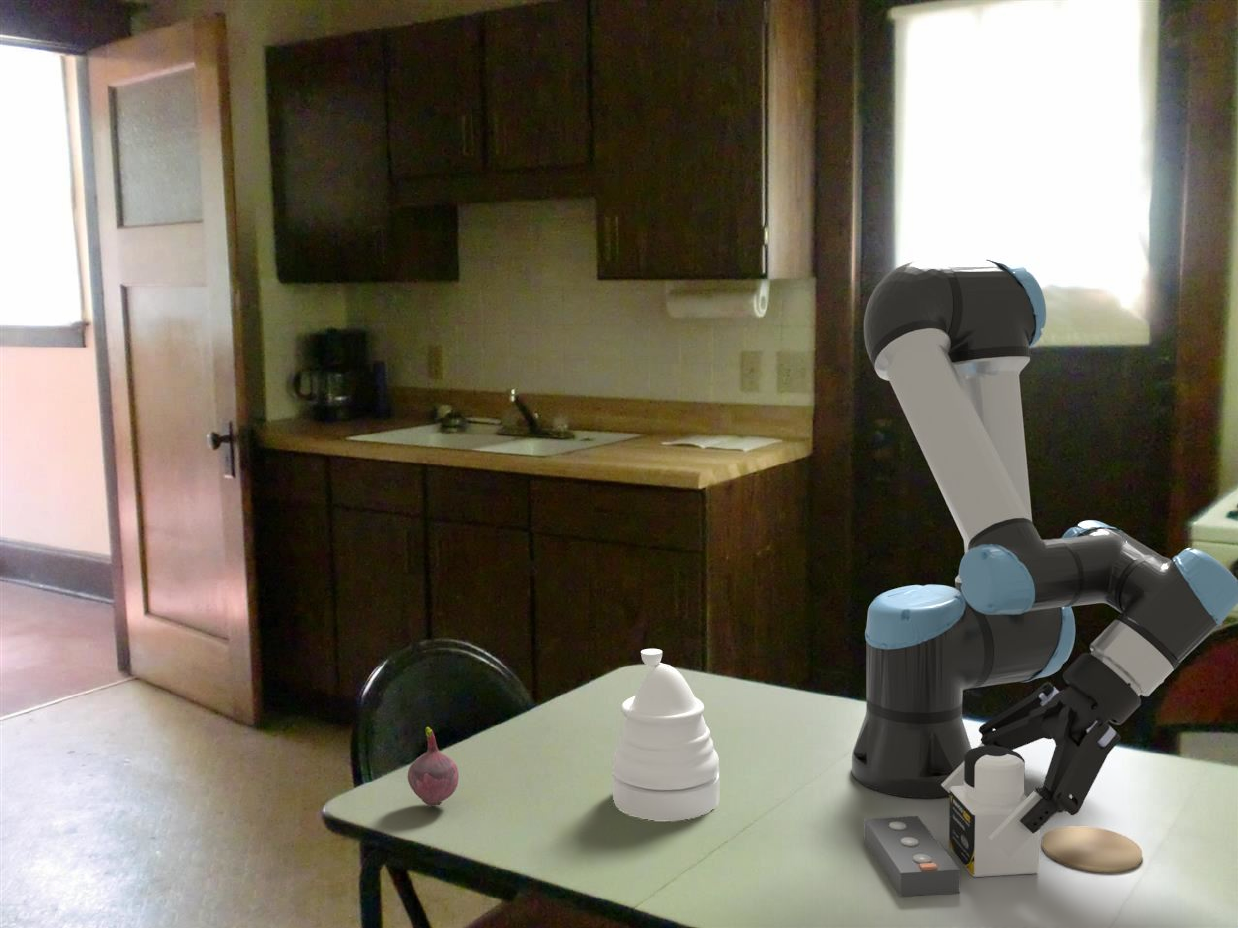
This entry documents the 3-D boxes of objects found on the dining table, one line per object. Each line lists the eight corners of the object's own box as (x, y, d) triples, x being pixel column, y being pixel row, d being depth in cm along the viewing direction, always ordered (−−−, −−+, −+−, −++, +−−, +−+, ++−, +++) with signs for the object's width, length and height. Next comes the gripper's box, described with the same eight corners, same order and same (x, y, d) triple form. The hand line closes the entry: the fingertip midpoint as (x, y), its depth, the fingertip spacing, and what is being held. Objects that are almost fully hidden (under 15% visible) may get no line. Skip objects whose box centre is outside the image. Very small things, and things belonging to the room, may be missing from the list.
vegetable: (434, 793, 148) (431, 715, 147) (471, 804, 145) (468, 724, 143) (398, 810, 143) (394, 729, 142) (435, 821, 140) (432, 739, 138)
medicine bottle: (947, 848, 130) (949, 741, 129) (1011, 844, 131) (1013, 738, 129) (972, 878, 123) (974, 766, 122) (1039, 874, 124) (1042, 762, 122)
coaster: (1029, 856, 128) (1030, 851, 128) (1056, 823, 136) (1056, 818, 136) (1129, 880, 122) (1129, 875, 122) (1151, 844, 130) (1151, 839, 130)
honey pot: (590, 801, 145) (587, 656, 142) (660, 771, 154) (658, 634, 152) (672, 831, 136) (669, 677, 134) (741, 796, 145) (740, 652, 143)
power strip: (864, 840, 132) (864, 815, 132) (917, 837, 133) (917, 813, 133) (900, 896, 120) (900, 869, 119) (959, 892, 120) (959, 866, 120)
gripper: (1205, 739, 114) (1048, 898, 114) (1083, 664, 138) (954, 795, 139) (1153, 687, 113) (995, 848, 113) (1039, 621, 137) (910, 753, 138)
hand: (972, 819), depth 126 cm, fingers open, 13 cm apart
